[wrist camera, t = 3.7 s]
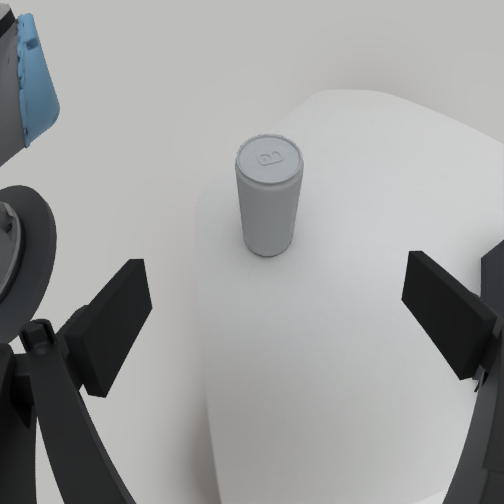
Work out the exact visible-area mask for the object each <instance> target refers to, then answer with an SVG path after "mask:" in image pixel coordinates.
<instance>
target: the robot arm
mask: <svg viewBox="0 0 504 504" xmlns="http://www.w3.org/2000/svg"><path fill="white" fill-rule="evenodd" d="M59 111H60V106H59V102H58V99H57V95H56V93H55V89H54V87H53V83H52V80H51V77H50V74H49V71H48V68H47V65H46V61H45V58H44V54H43V51H42V48H41V44H40V40H39V37H38V34H37V30H36V26H35V22H34V18H33V15H32V14H30V13H28V14H25V15H20V16H18V19H15V17H14V15H13V13H12V11H11V8H10V6H9V5H8V4H3V3H0V167H1V166H2V165H3V164H4V163H5V162H6V161H8V160H9V159H10V158H11V157H13V156H14V155H15V154H16V153H18V152H19V151H20V150H21V149H23V148H24V147H25V148H28V147H29V146H30V143H31V142H32V141H33V140H35V139H36V138H37V137H38V136H39V135H41V134H42V133H43V132H45V131H46V130H47V129H49V128H50V127H51V126H52V125H53V124H54V123H55V122H56V120H57V118H58V115H59ZM25 242H26V234H25V227H24V223H23V221H22V219H21V217H20V215H19V214H18V213H17V212H16V211H15V210H14V209H13V208H11V207H10V206H9V204H7V203H4V202H1V201H0V304H1V303H2V302H3V301H4V299H5V298H6V297H7V295H8V294H9V292H10V290H11V288H12V287H13V285H14V283H15V281H16V278H17V276H18V273H19V271H20V268H21V264H22V261H23V257H24V251H25ZM401 300H402V301H403V303H404V304H405V305H406V306H407V308H408V309H409V310H410V312H411V313H412V314H413V316H414V317H415V318H416V319H417V321H418V322H419V323H420V325H421V326H422V327H423V329H424V330H425V332H426V333H427V334H428V336H429V337H430V338H431V340H432V341H433V342H434V344H435V345H436V347H437V348H438V349H439V351H440V352H441V354H442V355H443V356H444V358H445V359H446V361H447V362H448V364H449V365H450V366H451V368H452V369H453V371H454V372H455V374H456V375H457V377H458V378H459V380H464V379H467V378H471V377H474V376H475V374H476V372H477V369H478V367H479V365H481V366H482V367H483V369H484V372H483V374H482V376H481V378H480V380H479V382H478V385H477V387H476V389H475V391H474V392H477V390H478V394H477V399H476V403H475V408H474V412H473V416H472V420H471V423H470V427H469V431H468V434H467V438H466V441H465V444H464V448H463V451H462V454H461V457H460V460H459V463H458V466H457V468H456V471H455V474H454V477H453V479H452V482H451V484H450V487H449V489H448V492H447V494H446V497H445V499H444V501H443V504H504V319H503V318H502V317H501V316H500V315H499V314H498V313H497V312H495V311H494V310H493V309H492V308H491V307H490V306H489V305H488V304H487V303H485V301H483V300H482V299H481V298H480V297H479V296H478V295H476V294H474V293H472V292H470V291H469V290H468V289H467V288H466V287H464V286H463V285H462V284H461V283H460V282H459V281H458V280H456V279H455V278H454V277H453V276H452V275H451V274H449V273H448V272H447V271H446V270H445V269H443V268H442V267H441V266H440V265H439V264H437V263H436V262H435V261H434V260H432V259H431V258H430V257H429V256H428V255H426V254H425V253H424V252H423V251H409V256H408V263H407V269H406V276H405V282H404V288H403V293H402V299H401ZM151 310H152V304H151V298H150V293H149V288H148V282H147V277H146V271H145V265H144V259H129V260H128V261H127V262H126V263H125V264H124V266H123V267H122V268H121V269H120V270H119V271H118V272H117V273H116V274H115V275H114V277H113V278H112V279H111V280H110V281H109V282H108V283H107V284H106V285H105V287H104V288H103V289H102V290H101V291H100V292H99V293H98V294H97V296H96V297H95V298H94V299H93V300H92V301H91V302H90V304H89V305H84V306H83V307H81V308H79V309H78V310H77V311H75V312H74V313H73V315H72V316H71V317H70V319H68V320H67V321H66V323H65V324H64V325H63V326H62V328H60V330H59V331H58V332H57V333H56V334H55V333H54V331H53V328H52V325H51V323H50V321H49V320H47V319H36V320H32V321H30V322H28V323H26V324H25V325H23V326H22V327H21V328H20V330H19V332H18V335H19V337H20V340H21V342H22V344H23V347H24V349H25V351H26V353H23V354H14V352H13V350H12V348H11V346H10V345H9V344H6V343H0V504H37V501H36V480H35V444H36V423H37V417H38V421H39V425H40V429H41V433H42V437H43V441H44V444H45V448H46V452H47V455H48V458H49V462H50V465H51V468H52V471H53V474H54V477H55V480H56V482H57V485H58V488H59V491H60V493H61V496H62V499H63V501H64V504H136V502H135V501H134V499H133V498H132V496H131V494H130V493H129V491H128V489H127V488H126V486H125V484H124V483H123V481H122V479H121V477H120V476H119V474H118V472H117V470H116V468H115V467H114V465H113V463H112V461H111V459H110V457H109V455H108V453H107V451H106V449H105V447H104V445H103V443H102V441H101V439H100V437H99V435H98V433H97V431H96V429H95V426H94V424H93V422H92V420H91V417H90V415H89V413H88V411H87V408H86V406H85V403H84V401H83V399H82V396H81V394H80V392H79V390H80V388H81V386H82V384H83V385H84V387H85V389H86V391H87V393H88V395H91V396H97V397H103V398H106V396H107V394H108V392H109V390H110V388H111V386H112V384H113V382H114V380H115V378H116V376H117V374H118V372H119V370H120V368H121V366H122V364H123V362H124V361H125V359H126V357H127V355H128V353H129V351H130V349H131V347H132V345H133V343H134V341H135V339H136V338H137V336H138V334H139V332H140V330H141V328H142V326H143V324H144V323H145V321H146V319H147V317H148V315H149V314H150V312H151Z"/></svg>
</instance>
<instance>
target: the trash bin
mask: <svg viewBox="0 0 504 504" xmlns="http://www.w3.org/2000/svg"><path fill="white" fill-rule="evenodd" d="M481 299H482V300H483V301H485V303H487V304H488V305H489V306H490V307H491V308H492V309H493V310H494V311H495V312H497V313H498V314H499V315H500V316H501V317H502V318H503V319H504V240H503V241H502V242H500V243H499V244H498V245H497V246H496V247H494V248H493V249H492V250H491V251H489V252H488V253H487V254H486V255H484V256H483V257H482V258H481ZM483 372H484V369H483V367H482V366H481V365H479V367H478V369H477V372H476V374H475V376H474V377H472V379H473V380H480V378H481V376H482V374H483Z"/></svg>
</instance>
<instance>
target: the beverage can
mask: <svg viewBox="0 0 504 504" xmlns="http://www.w3.org/2000/svg"><path fill="white" fill-rule="evenodd" d="M235 170H236V179H237V187H238V195H239V203H240V212H241V220H242V228H243V236H244V241H245V243H246V245H247V246H248V247H249V249H250V250H251V251H253V252H255V253H256V254H258V255H262V256H274V255H277V254H279V253H281V252H282V251H283V250H285V249H286V248H287V246H288V245H289V244H290V242H291V239H292V236H293V230H294V224H295V218H296V212H297V206H298V200H299V194H300V188H301V182H302V176H303V159H302V153H301V151H300V149H299V147H298V146H297V145H296V144H295V143H294V142H293V141H291V140H290V139H288V138H286V137H284V136H280V135H276V134H263V135H258V136H255V137H252V138H250V139H248V140H247V141H245V142H244V143H243V144H242V145H241V146H240V148H239V150H238V152H237V157H236V162H235Z"/></svg>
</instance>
